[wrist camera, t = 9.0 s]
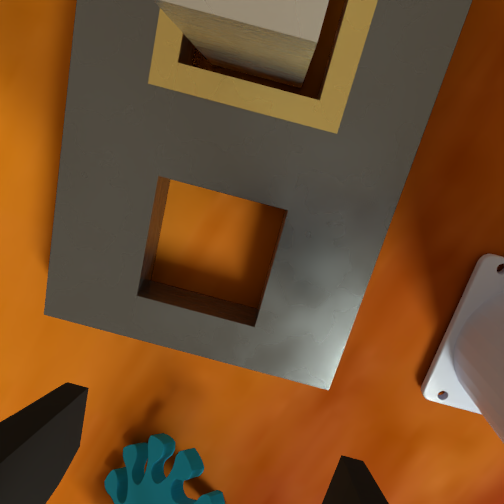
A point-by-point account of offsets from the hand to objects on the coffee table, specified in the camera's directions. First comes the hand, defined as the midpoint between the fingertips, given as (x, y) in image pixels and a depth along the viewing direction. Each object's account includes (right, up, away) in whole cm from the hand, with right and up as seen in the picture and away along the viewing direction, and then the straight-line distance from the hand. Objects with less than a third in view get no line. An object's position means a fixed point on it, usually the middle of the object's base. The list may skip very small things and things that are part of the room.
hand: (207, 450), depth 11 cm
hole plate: (+1, +10, +7) cm, 13 cm away
